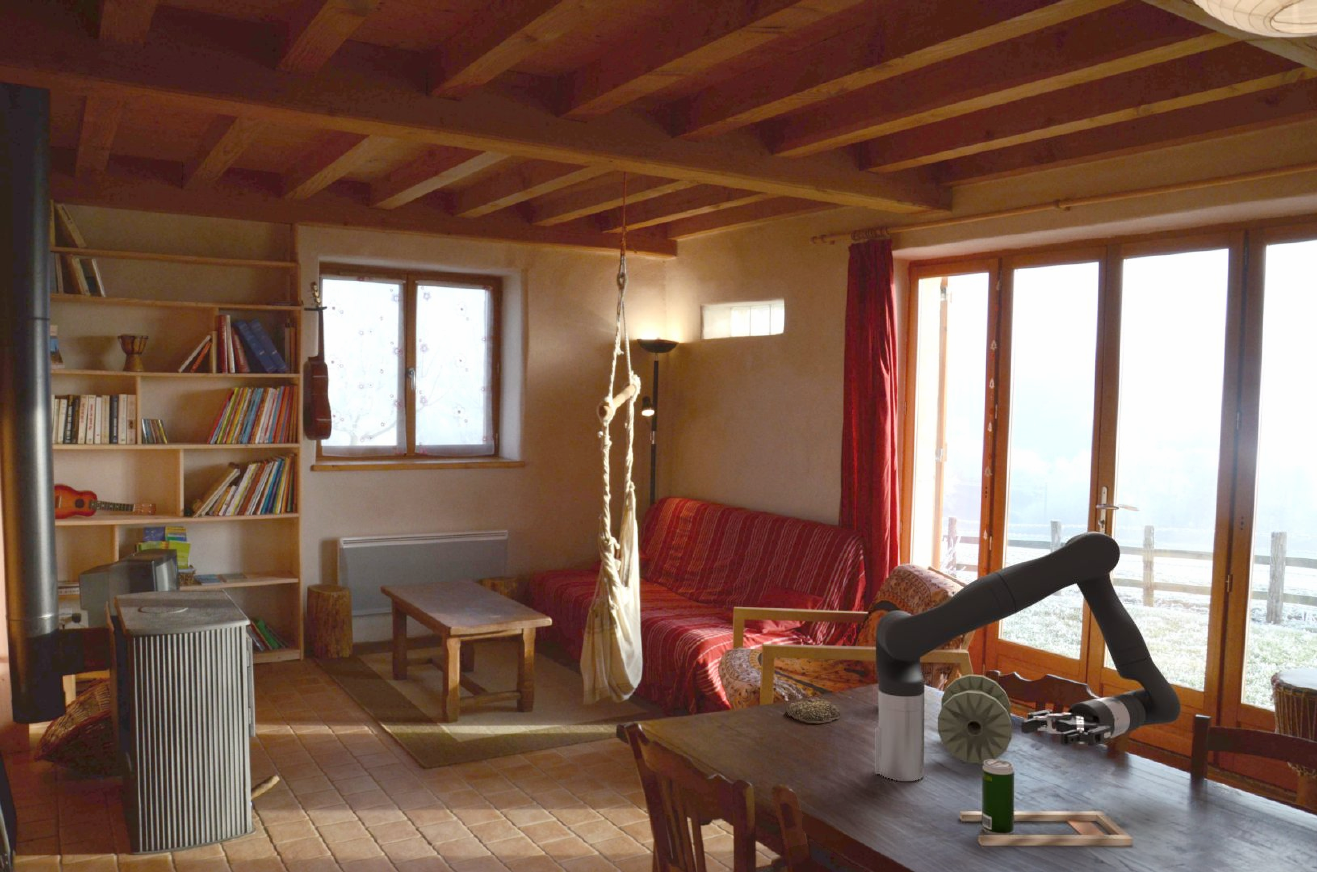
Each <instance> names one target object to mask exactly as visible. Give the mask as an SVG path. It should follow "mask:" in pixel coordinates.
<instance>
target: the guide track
mask: <svg viewBox="0 0 1317 872" xmlns="http://www.w3.org/2000/svg"><path fill="white" fill-rule="evenodd" d="M959 819H960V820H961V822H982V810H981V811H979V810H978V811H973V810H972V811H971V810H970V811H968V810H967V811H965V810H964V811H960V810H959ZM1014 822H1066V823H1068V825H1070V826H1071V827H1072V828H1073V829H1074V830H1075V831H1076V832H1077V833H1078V834H1011V835H990V834H978V843H979V844H980V846H983V847H984V846H986V847H987V846H992V847H993V846H1001V847H1002V846H1006V847H1007V846H1010V847H1011V846H1020V847H1021V846H1025V847H1026V846H1034V847H1035V846H1048V847H1049V846H1053V847H1054V846H1065V847H1066V846H1068V847H1069V846H1071V847H1072V846H1080V847H1081V846H1084V847H1085V846H1086V847H1087V846H1094V847H1095V846H1107V847H1108V846H1109V847H1111V846H1113V847H1114V846H1116V847H1117V846H1118V847H1119V846H1123V847H1124V846H1134V843H1133V842H1134V839H1133V837H1132V836H1131V835H1129V834H1128V833H1127V832H1126V831H1125V830H1123V828H1121V827H1120V826H1119V825H1117V824H1116V823H1115V822H1114V821H1113V819H1110V817H1108V816H1107V815H1106V814H1105V813H1103V811H1099V810H1097V811H1096V810H1095V811H1091V810H1090V811H1087V810H1086V811H1079V810H1077V811H1060V810H1058V811H1055V810H1054V811H1051V810H1048V811H1045V810H1044V811H1025V810H1023V811H1015V810H1014ZM1092 822H1096V823H1098V824H1099V825H1100V826H1101V827H1102V828H1104V829H1105V830H1106V831H1107V832H1108V833H1109V834H1105V833H1103V832H1102V831H1101V830H1100V829H1099V828H1098V827H1097V826H1096V825H1094V824H1093V823H1092Z"/></svg>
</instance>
